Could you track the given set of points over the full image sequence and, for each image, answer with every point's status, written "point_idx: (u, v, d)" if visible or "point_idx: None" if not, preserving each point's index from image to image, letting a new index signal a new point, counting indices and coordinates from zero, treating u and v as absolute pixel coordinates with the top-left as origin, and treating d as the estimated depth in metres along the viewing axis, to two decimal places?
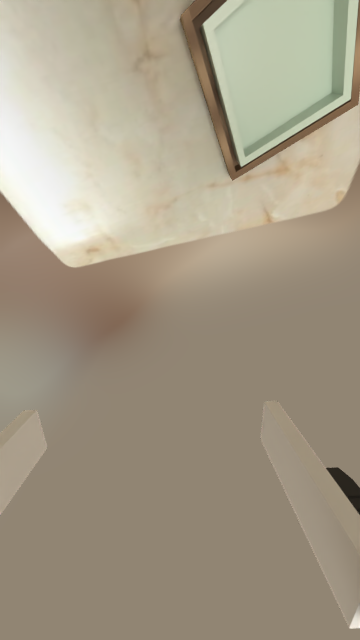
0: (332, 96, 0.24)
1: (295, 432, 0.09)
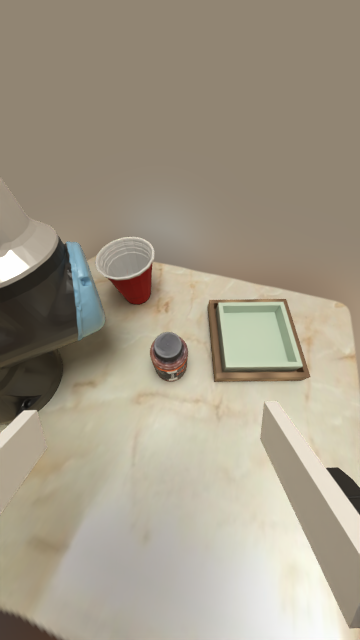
0: (278, 310, 0.40)
1: (295, 432, 0.09)
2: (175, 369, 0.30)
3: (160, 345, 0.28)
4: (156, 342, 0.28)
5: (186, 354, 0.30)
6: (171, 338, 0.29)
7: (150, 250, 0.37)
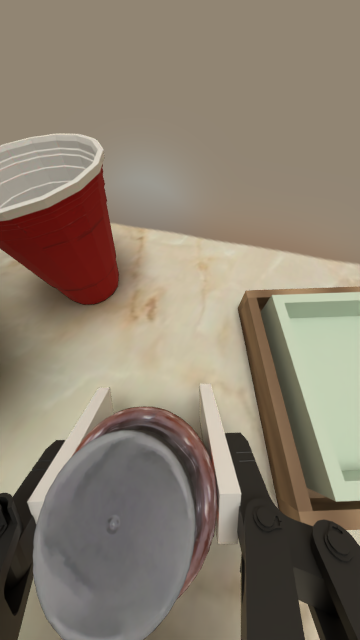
0: None
1: (213, 406, 0.11)
2: None
3: (70, 534, 0.05)
4: (51, 509, 0.05)
5: (213, 514, 0.07)
6: (138, 475, 0.05)
7: None
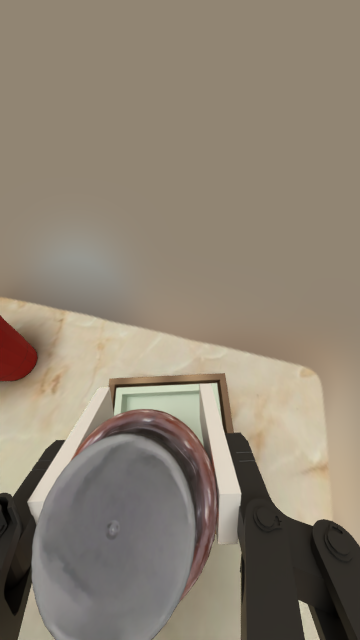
0: None
1: (213, 406, 0.11)
2: None
3: (69, 539, 0.05)
4: (50, 514, 0.05)
5: (214, 518, 0.07)
6: (138, 479, 0.05)
7: None
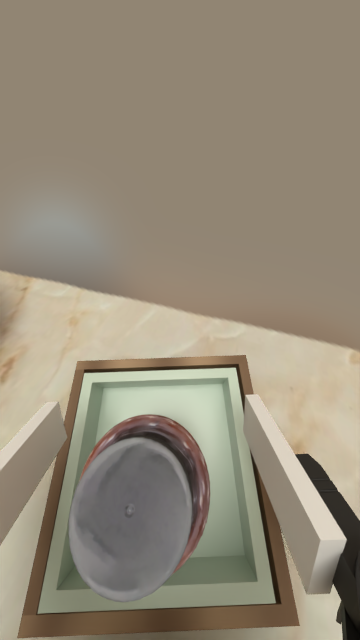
0: (225, 386, 0.18)
1: (270, 422, 0.10)
2: None
3: (97, 517, 0.06)
4: (81, 499, 0.06)
5: (207, 505, 0.08)
6: (148, 473, 0.07)
7: None
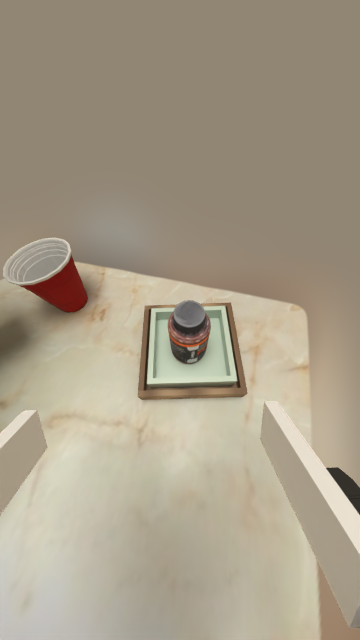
0: (220, 316, 0.36)
1: (295, 432, 0.09)
2: (197, 344, 0.26)
3: (180, 314, 0.24)
4: (176, 311, 0.25)
5: (209, 327, 0.26)
6: (193, 306, 0.25)
7: None
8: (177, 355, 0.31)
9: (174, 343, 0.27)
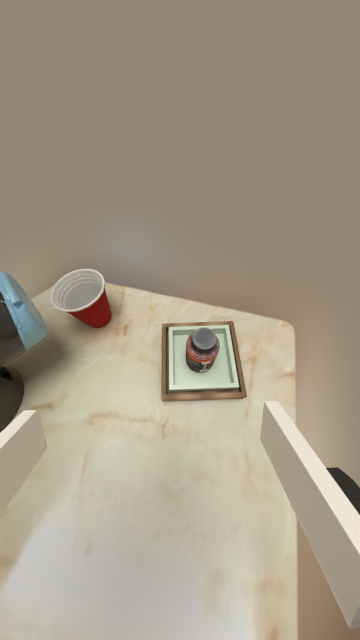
0: (224, 332, 0.44)
1: (295, 432, 0.09)
2: (209, 360, 0.34)
3: (198, 338, 0.32)
4: (194, 336, 0.33)
5: (219, 346, 0.34)
6: (207, 332, 0.33)
7: (102, 282, 0.40)
8: (192, 366, 0.39)
9: (191, 359, 0.35)
